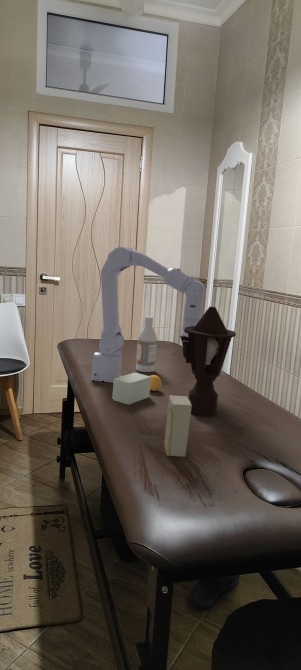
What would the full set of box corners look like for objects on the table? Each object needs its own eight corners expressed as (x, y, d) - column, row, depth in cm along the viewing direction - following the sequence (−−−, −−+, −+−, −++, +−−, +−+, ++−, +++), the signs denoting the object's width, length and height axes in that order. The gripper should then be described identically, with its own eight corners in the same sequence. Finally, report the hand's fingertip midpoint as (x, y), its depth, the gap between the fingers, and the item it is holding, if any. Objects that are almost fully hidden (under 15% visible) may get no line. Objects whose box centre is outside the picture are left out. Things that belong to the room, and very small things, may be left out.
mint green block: (128, 404, 135) (130, 383, 134) (112, 399, 138) (113, 378, 137) (149, 397, 144) (150, 376, 142) (133, 392, 147) (134, 372, 146)
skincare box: (163, 444, 109) (168, 394, 107) (182, 445, 110) (187, 395, 108) (166, 456, 103) (171, 403, 101) (186, 457, 104) (192, 404, 102)
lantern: (167, 404, 138) (176, 302, 133) (210, 401, 144) (221, 304, 139) (190, 422, 125) (202, 310, 119) (238, 418, 131) (250, 311, 125)
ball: (144, 391, 148) (145, 376, 147) (146, 387, 153) (147, 372, 152) (160, 393, 148) (161, 378, 147) (161, 389, 153) (162, 374, 152)
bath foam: (132, 368, 176) (136, 315, 173) (149, 367, 179) (154, 315, 175) (139, 373, 170) (143, 318, 166) (157, 372, 173) (161, 318, 169)
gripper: (208, 323, 143) (203, 366, 146) (201, 316, 157) (197, 355, 160) (185, 321, 143) (180, 364, 145) (180, 314, 157) (176, 354, 160)
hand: (188, 360), depth 153 cm, fingers open, 7 cm apart
